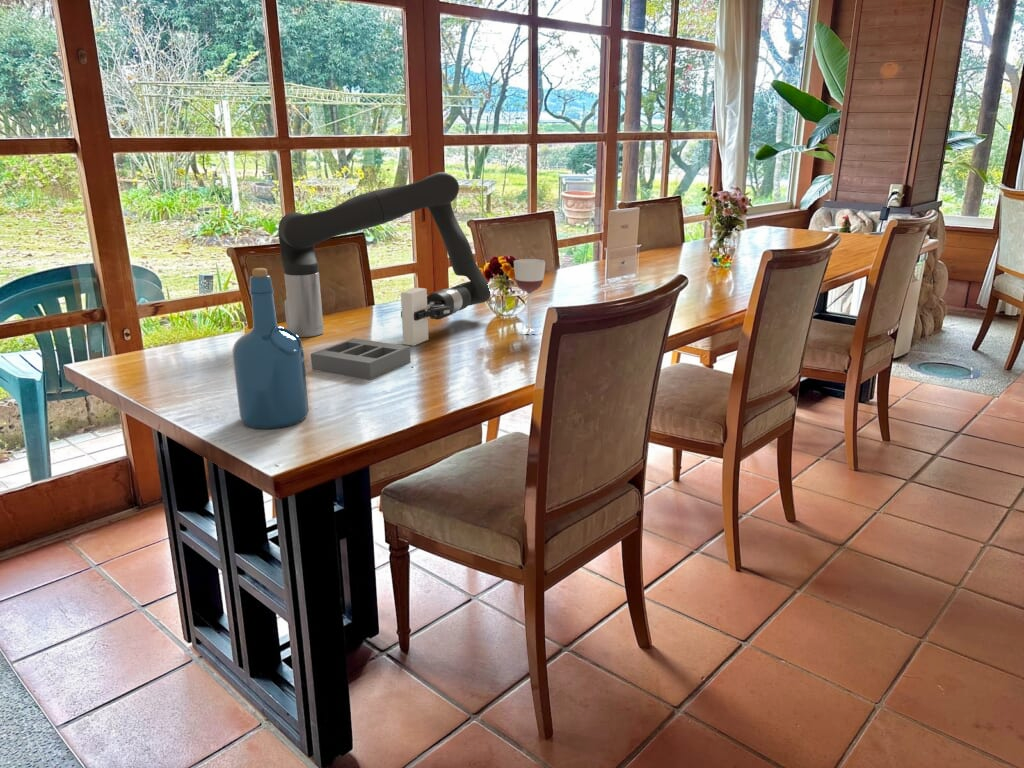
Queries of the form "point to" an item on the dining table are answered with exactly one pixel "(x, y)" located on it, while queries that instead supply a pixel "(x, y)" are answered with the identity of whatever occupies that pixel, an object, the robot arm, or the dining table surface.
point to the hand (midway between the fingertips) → (408, 315)
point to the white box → (411, 328)
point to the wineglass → (529, 279)
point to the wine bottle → (269, 365)
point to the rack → (361, 358)
